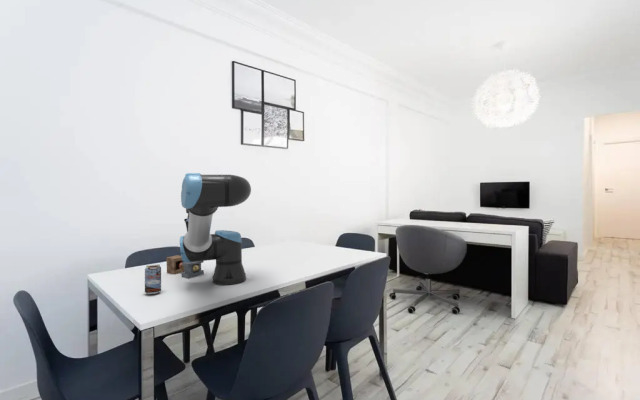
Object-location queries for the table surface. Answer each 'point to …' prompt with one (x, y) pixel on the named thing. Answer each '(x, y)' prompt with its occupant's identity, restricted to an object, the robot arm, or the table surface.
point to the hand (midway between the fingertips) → (195, 252)
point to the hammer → (195, 267)
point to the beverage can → (152, 279)
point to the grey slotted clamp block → (191, 269)
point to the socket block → (174, 264)
